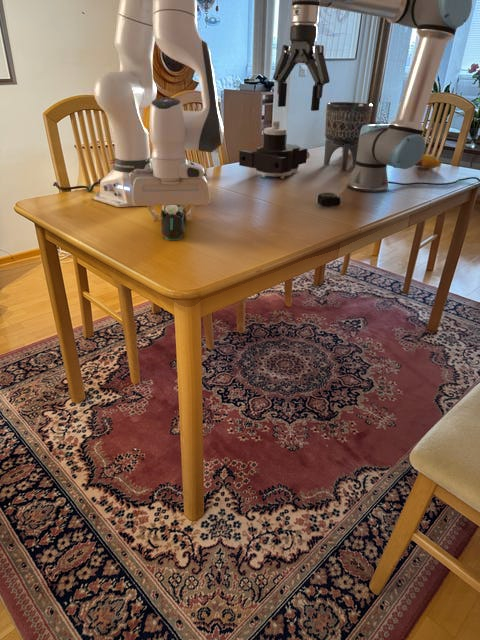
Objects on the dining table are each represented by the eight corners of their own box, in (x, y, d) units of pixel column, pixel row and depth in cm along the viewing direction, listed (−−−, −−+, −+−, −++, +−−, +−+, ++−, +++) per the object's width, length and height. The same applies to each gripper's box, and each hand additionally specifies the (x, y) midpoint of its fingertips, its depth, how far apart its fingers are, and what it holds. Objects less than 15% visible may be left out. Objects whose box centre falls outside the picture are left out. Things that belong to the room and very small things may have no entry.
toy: (415, 162, 205) (409, 155, 218) (417, 175, 208) (411, 168, 221) (441, 154, 202) (433, 147, 215) (443, 168, 205) (435, 160, 218)
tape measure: (320, 209, 151) (321, 197, 149) (314, 203, 157) (315, 192, 155) (339, 208, 152) (341, 197, 150) (333, 202, 158) (334, 191, 156)
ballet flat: (186, 214, 144) (185, 188, 139) (192, 240, 123) (191, 211, 119) (160, 215, 142) (158, 188, 138) (162, 242, 122) (160, 212, 118)
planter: (313, 167, 208) (319, 103, 195) (331, 160, 222) (338, 101, 209) (353, 173, 199) (362, 107, 185) (369, 166, 213) (379, 104, 199)
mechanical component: (240, 120, 182) (283, 115, 202) (239, 174, 192) (280, 164, 212) (283, 126, 170) (325, 120, 190) (280, 183, 180) (320, 171, 200)
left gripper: (127, 171, 113) (133, 225, 119) (209, 170, 115) (210, 223, 122) (129, 166, 118) (134, 218, 125) (207, 165, 121) (208, 216, 128)
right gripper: (263, 25, 132) (260, 105, 143) (330, 22, 116) (321, 113, 127) (281, 26, 136) (277, 104, 147) (348, 24, 120) (338, 111, 131)
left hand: (172, 220), depth 124 cm, fingers open, 7 cm apart
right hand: (297, 108), depth 137 cm, fingers open, 13 cm apart
